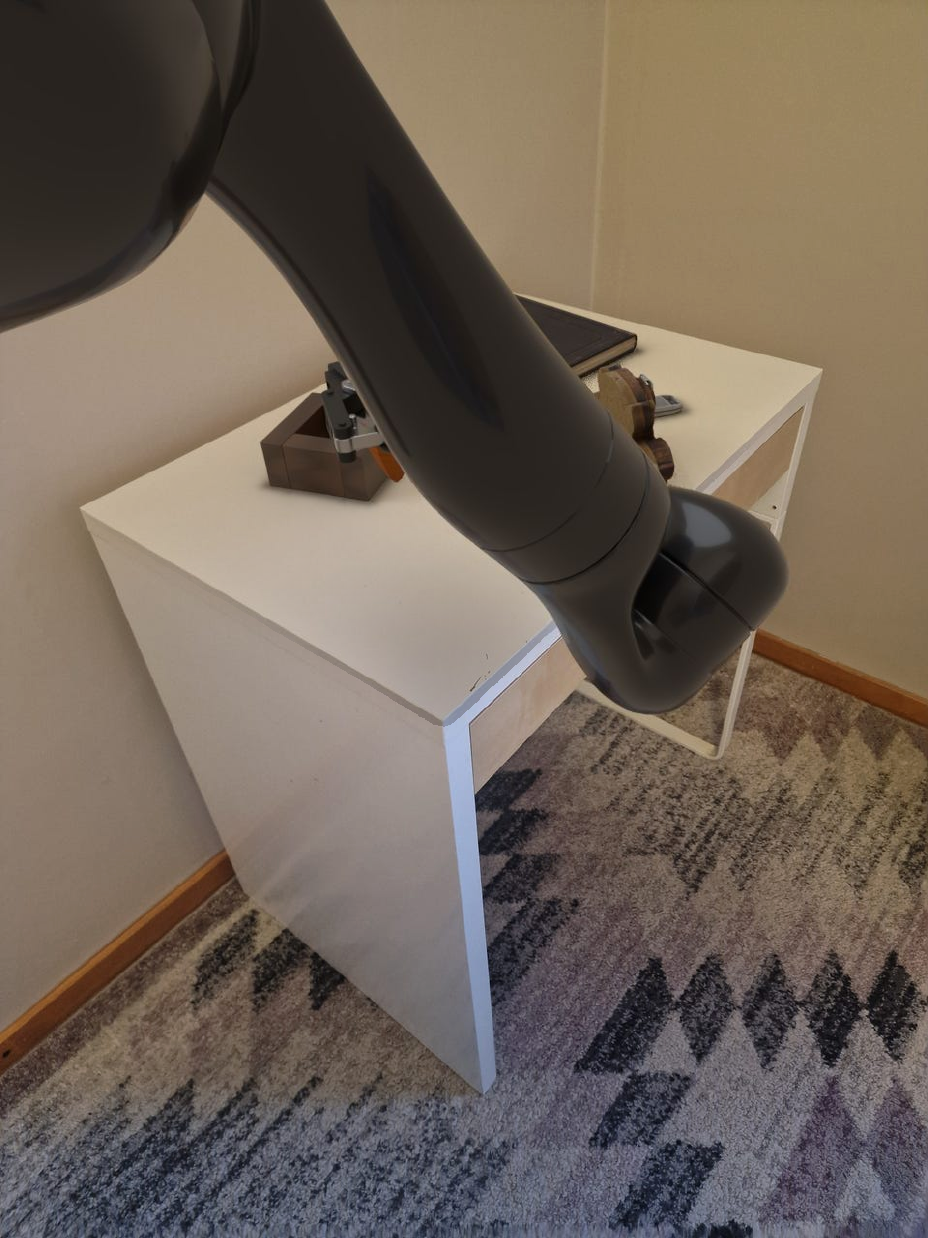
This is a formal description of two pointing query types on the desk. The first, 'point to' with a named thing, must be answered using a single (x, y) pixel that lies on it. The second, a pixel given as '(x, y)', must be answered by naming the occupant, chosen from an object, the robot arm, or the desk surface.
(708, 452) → the desk surface
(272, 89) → the robot arm
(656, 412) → the strap clip
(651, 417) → the wooden carving
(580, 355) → the hardcover book
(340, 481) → the holder
